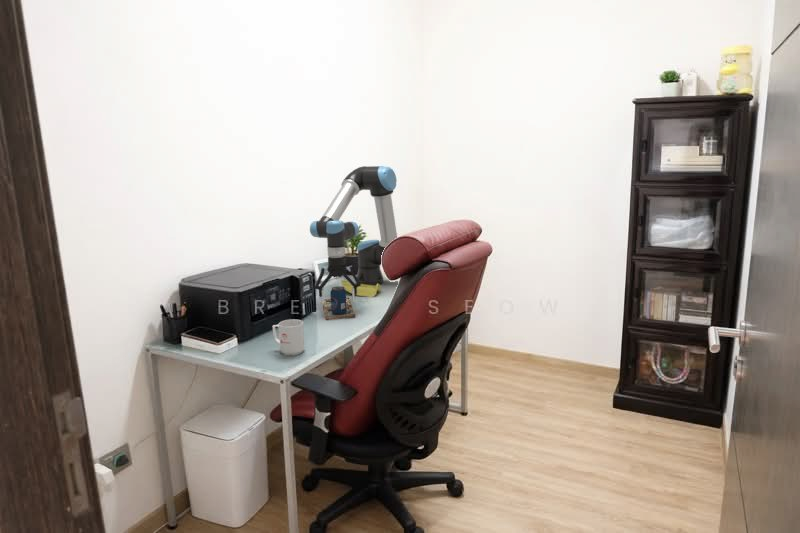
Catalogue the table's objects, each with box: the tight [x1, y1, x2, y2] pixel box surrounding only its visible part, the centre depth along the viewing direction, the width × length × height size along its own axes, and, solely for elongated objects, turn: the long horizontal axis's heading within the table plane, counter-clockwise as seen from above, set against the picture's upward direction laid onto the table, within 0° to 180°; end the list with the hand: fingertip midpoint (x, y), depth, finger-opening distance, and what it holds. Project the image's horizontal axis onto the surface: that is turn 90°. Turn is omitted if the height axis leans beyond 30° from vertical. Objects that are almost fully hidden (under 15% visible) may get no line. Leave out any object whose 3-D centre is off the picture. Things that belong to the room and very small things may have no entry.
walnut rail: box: [322, 297, 356, 321], centre depth 254 cm, size 29×13×1 cm, turn 11°
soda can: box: [330, 286, 348, 316], centre depth 246 cm, size 7×7×12 cm
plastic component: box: [340, 279, 382, 298], centre depth 280 cm, size 20×7×10 cm
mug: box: [271, 318, 306, 356], centre depth 203 cm, size 12×9×11 cm
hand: (338, 302), depth 246 cm, fingers open, 13 cm apart
